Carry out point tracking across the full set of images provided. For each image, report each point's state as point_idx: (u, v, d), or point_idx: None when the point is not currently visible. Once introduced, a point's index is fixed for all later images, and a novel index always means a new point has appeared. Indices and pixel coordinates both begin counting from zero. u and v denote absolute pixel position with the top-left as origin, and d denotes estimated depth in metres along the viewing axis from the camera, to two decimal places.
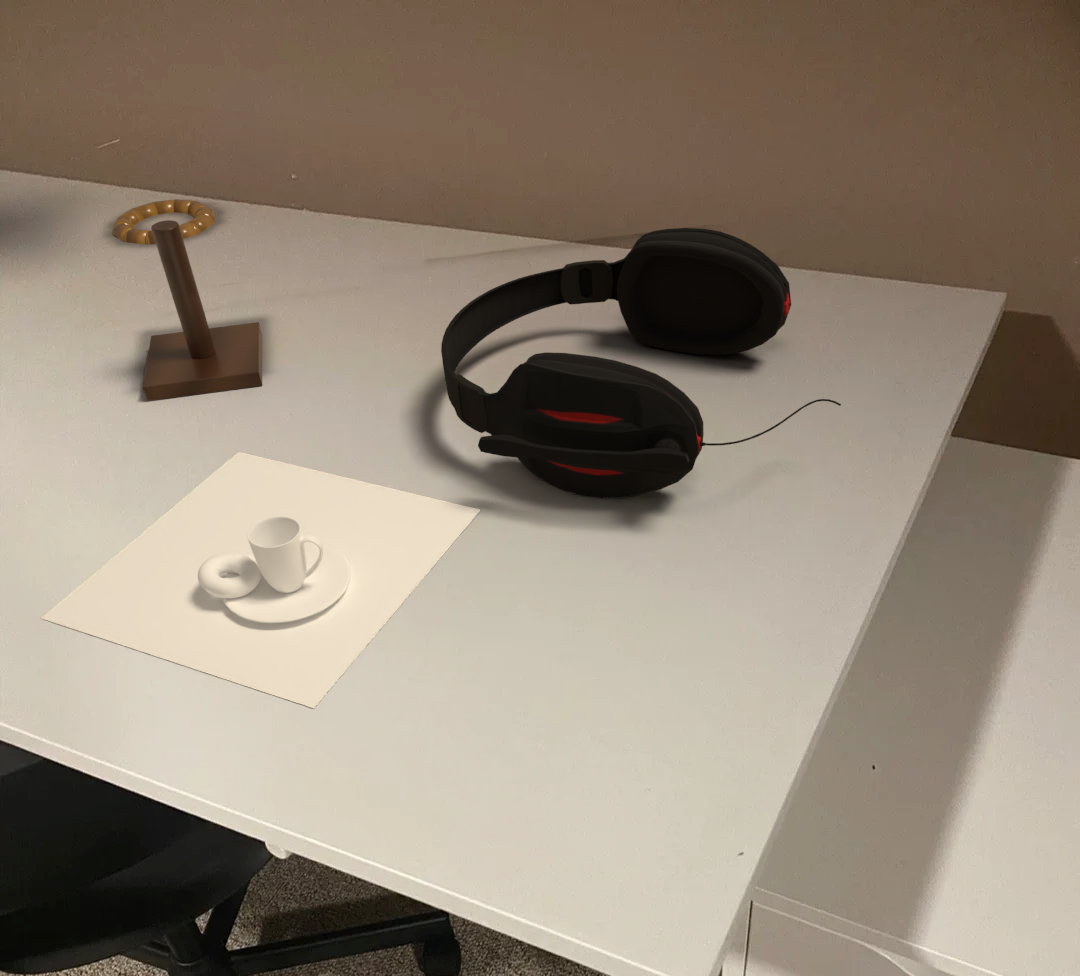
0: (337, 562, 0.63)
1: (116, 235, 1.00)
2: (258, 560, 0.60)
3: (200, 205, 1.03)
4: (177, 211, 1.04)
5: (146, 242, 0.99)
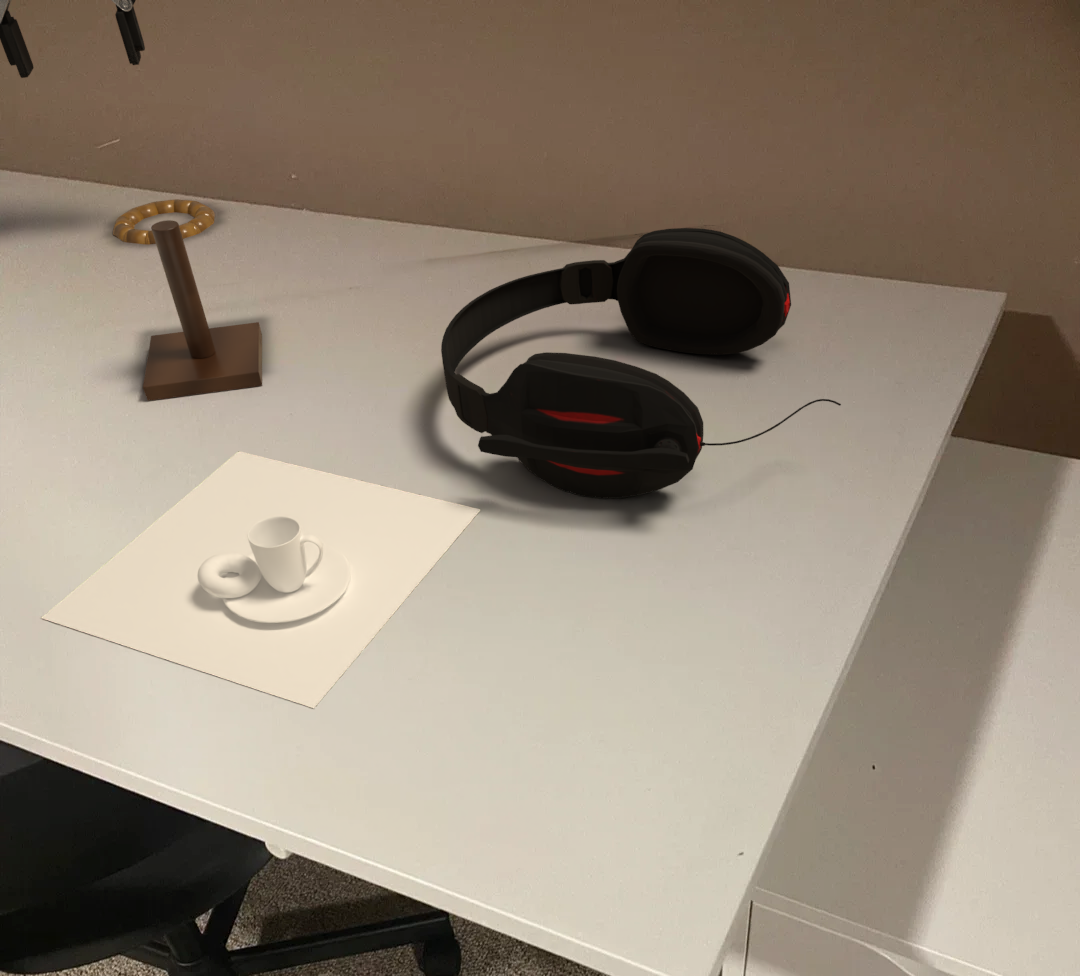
0: (337, 562, 0.63)
1: (116, 235, 1.00)
2: (258, 560, 0.60)
3: (200, 205, 1.03)
4: (177, 211, 1.04)
5: (146, 242, 0.99)
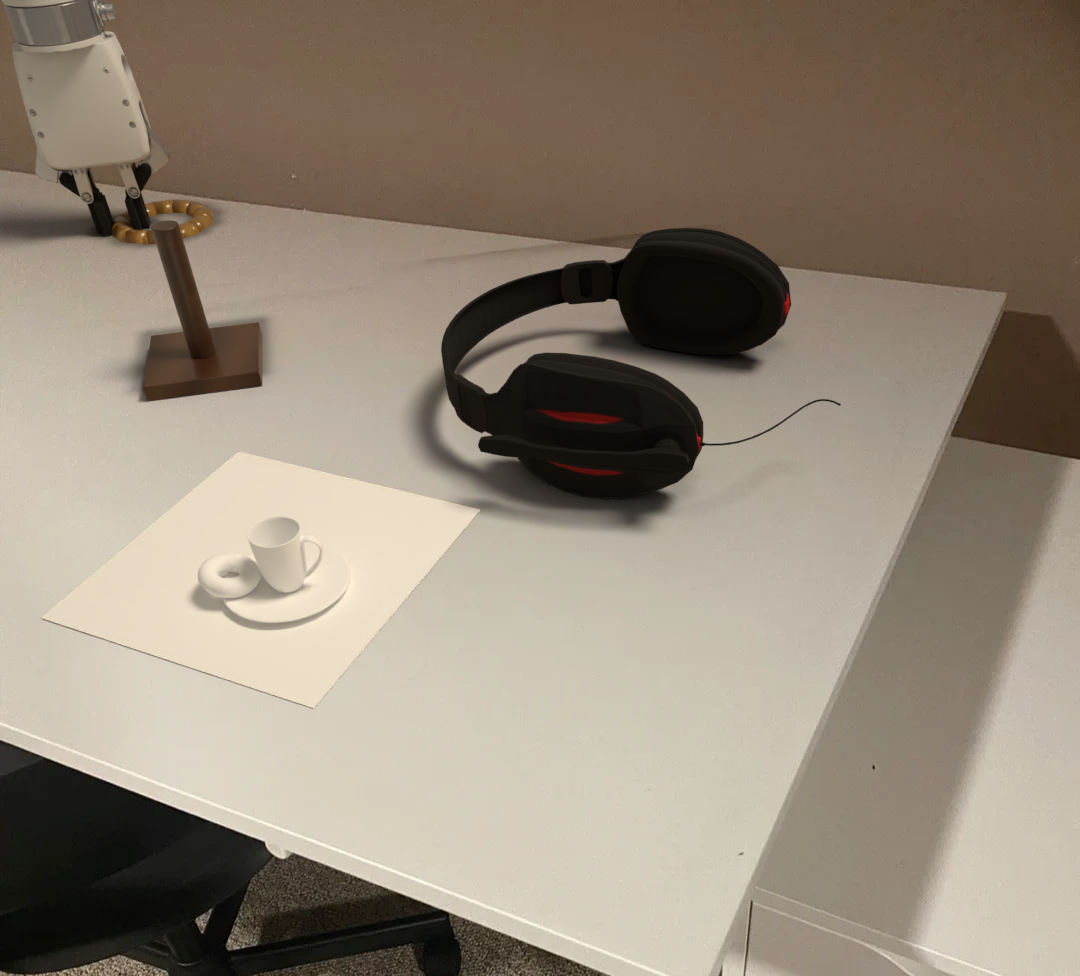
0: (337, 562, 0.63)
1: (114, 235, 1.00)
2: (258, 560, 0.60)
3: (198, 205, 1.03)
4: (176, 211, 1.04)
5: (144, 242, 0.99)
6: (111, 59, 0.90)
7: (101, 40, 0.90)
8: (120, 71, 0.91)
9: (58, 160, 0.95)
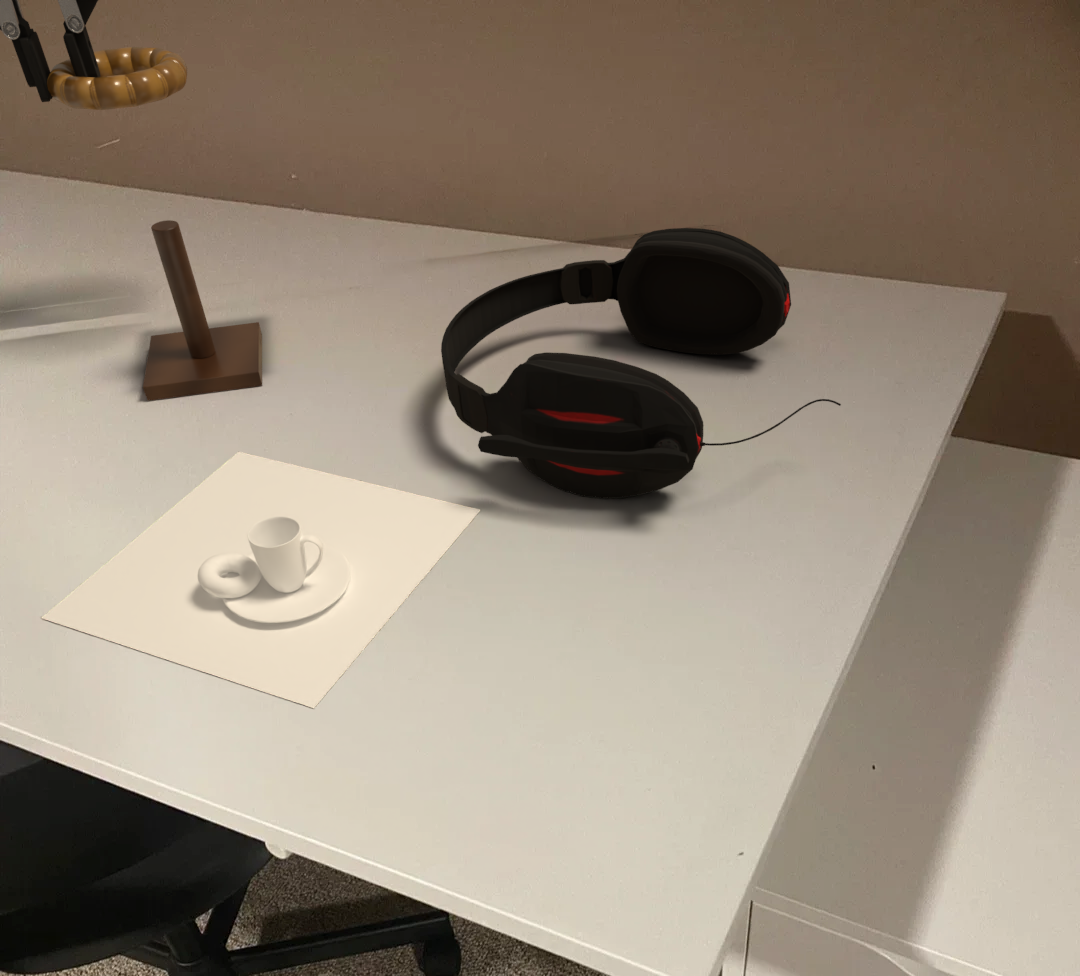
0: (337, 562, 0.63)
1: (51, 86, 0.74)
2: (258, 560, 0.60)
3: (166, 51, 0.76)
4: (135, 62, 0.78)
5: (91, 92, 0.72)
6: None
7: None
8: None
9: None
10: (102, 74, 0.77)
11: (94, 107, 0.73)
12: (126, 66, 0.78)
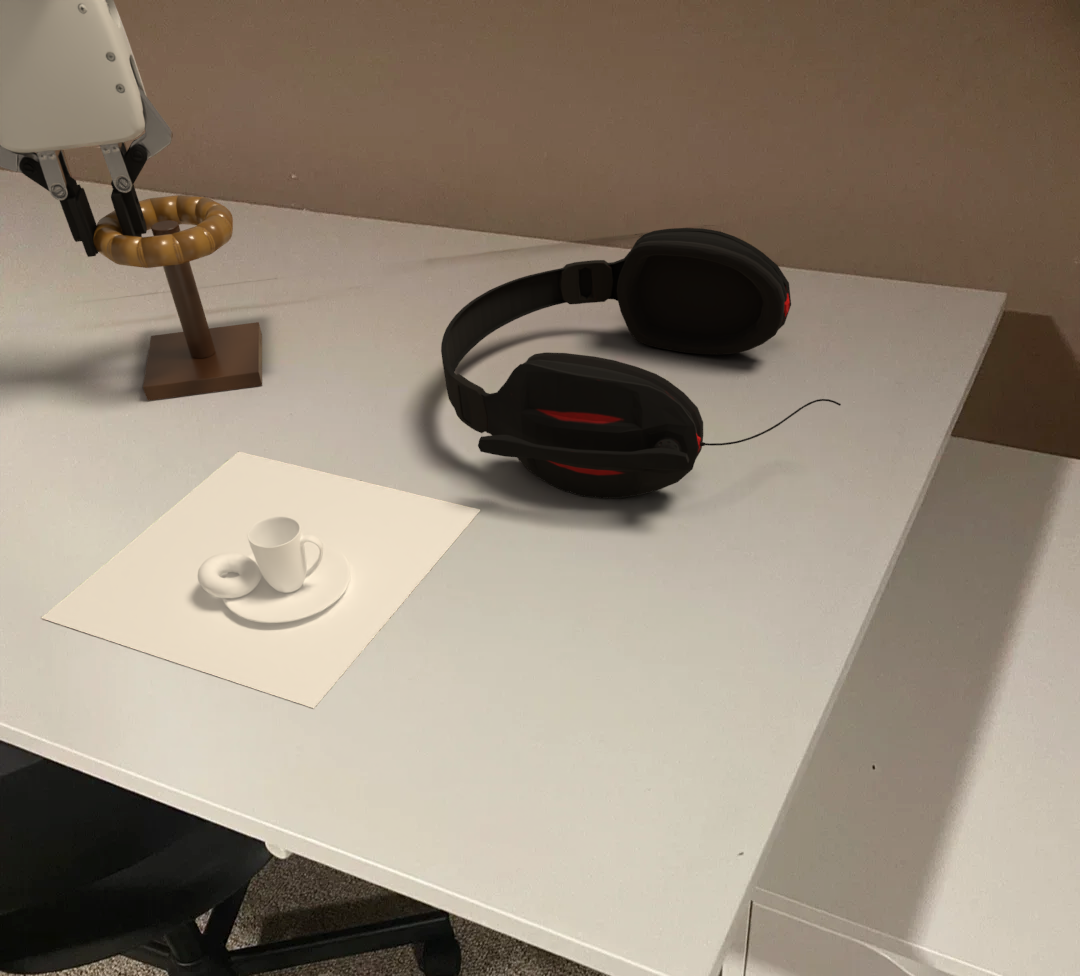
0: (337, 562, 0.63)
1: (97, 243, 0.73)
2: (258, 560, 0.60)
3: (212, 203, 0.76)
4: (181, 211, 0.77)
5: (138, 253, 0.71)
6: None
7: None
8: (102, 11, 0.64)
9: (17, 139, 0.68)
10: (147, 223, 0.77)
11: (141, 266, 0.72)
12: (171, 215, 0.77)
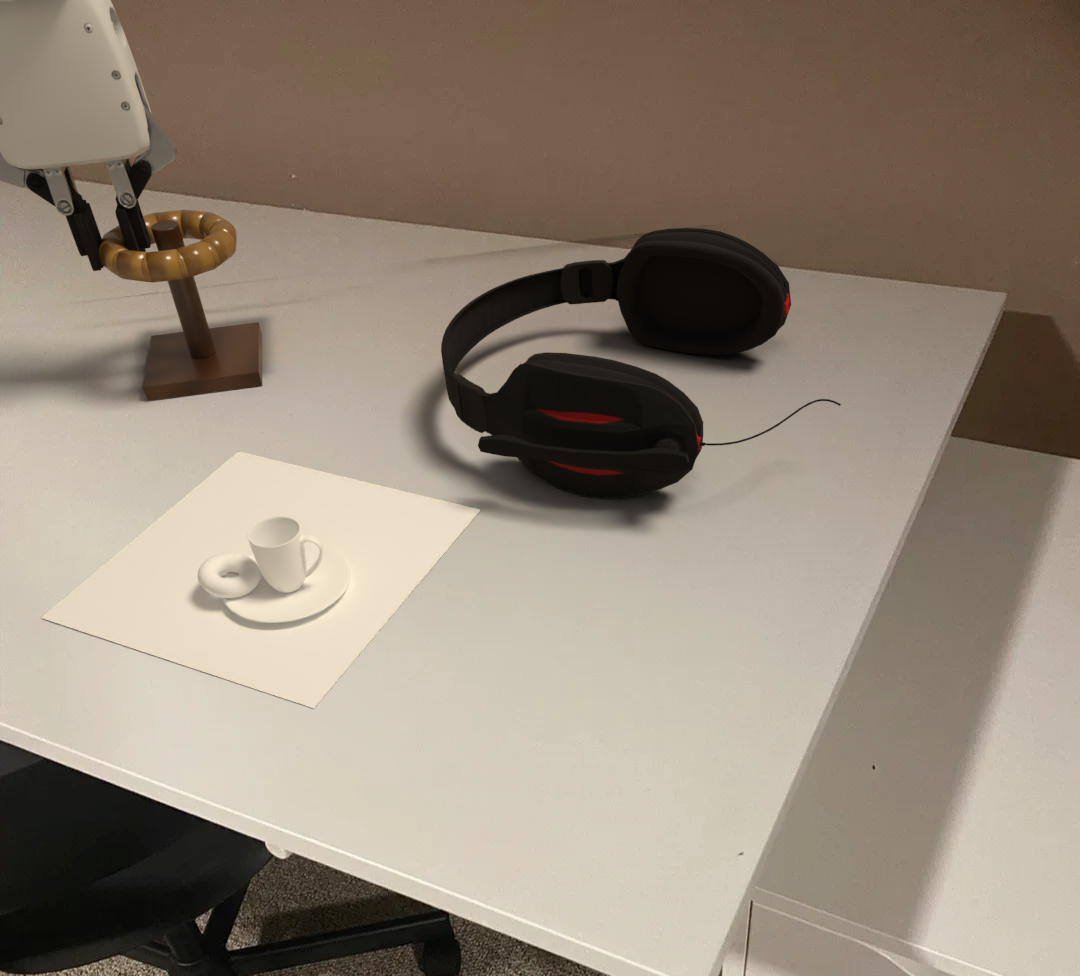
0: (337, 562, 0.63)
1: (102, 257, 0.74)
2: (258, 560, 0.60)
3: (216, 218, 0.77)
4: (185, 226, 0.78)
5: (143, 268, 0.72)
6: (95, 12, 0.64)
7: None
8: (108, 30, 0.65)
9: (23, 156, 0.68)
10: (152, 237, 0.78)
11: (145, 280, 0.73)
12: None
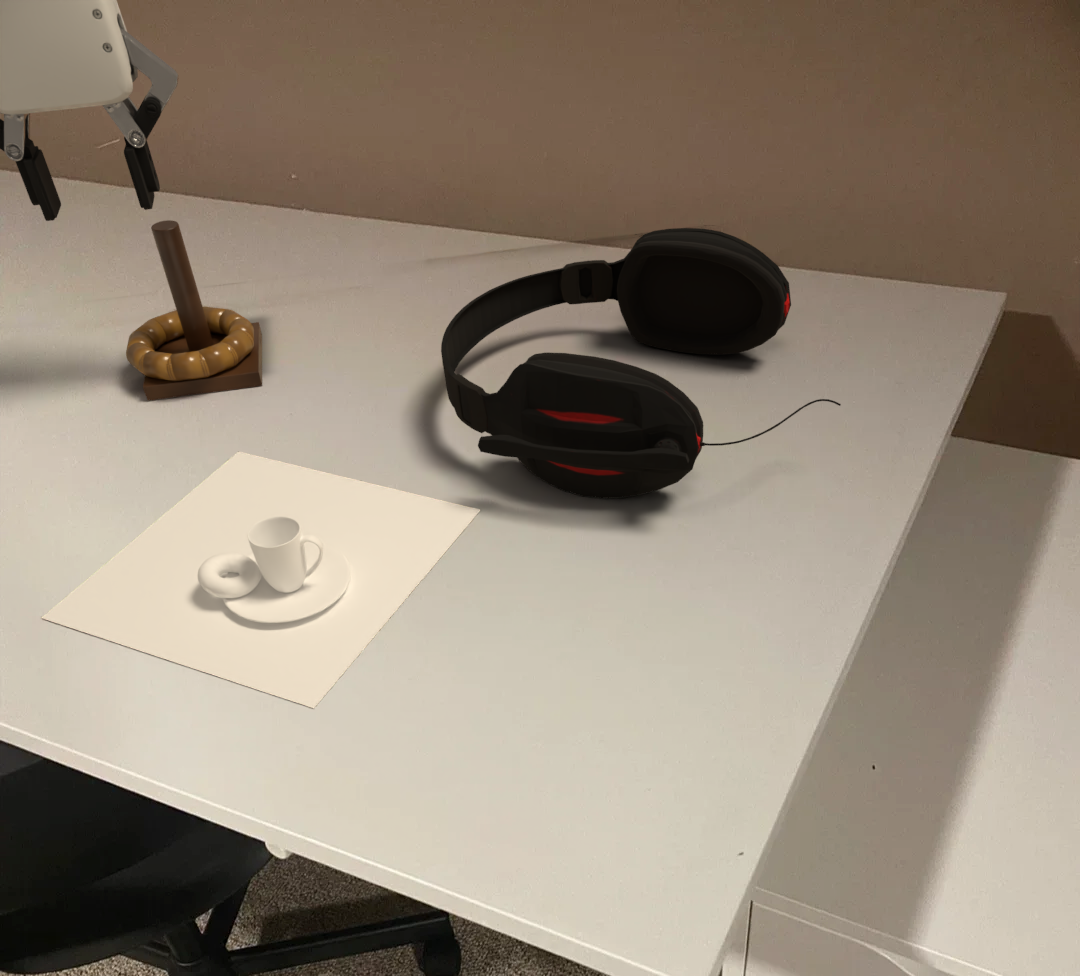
0: (337, 562, 0.63)
1: (130, 358, 0.79)
2: (258, 560, 0.60)
3: (235, 316, 0.82)
4: None
5: (168, 369, 0.78)
6: None
7: None
8: None
9: (1, 100, 0.66)
10: (175, 333, 0.83)
11: (170, 380, 0.79)
12: None
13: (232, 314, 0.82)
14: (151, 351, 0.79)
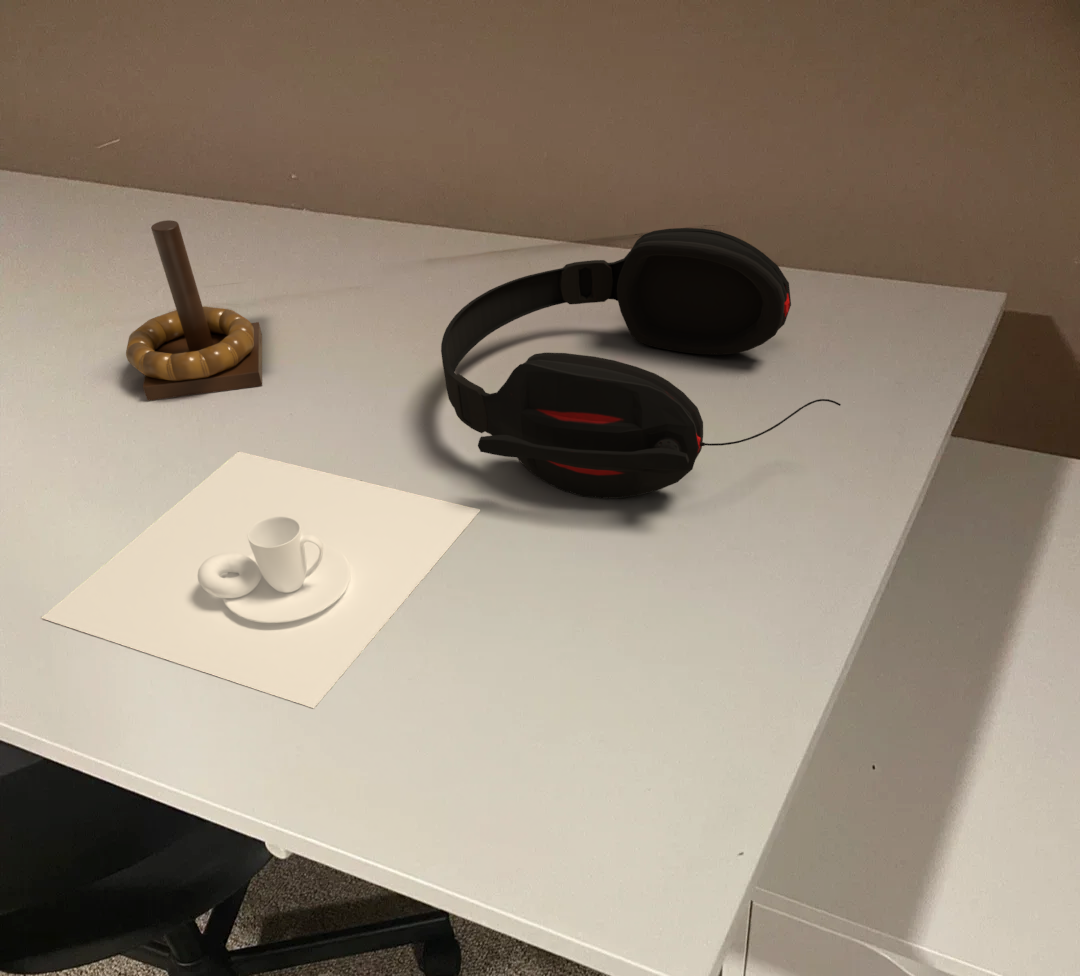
0: (337, 562, 0.63)
1: (130, 358, 0.79)
2: (258, 560, 0.60)
3: (235, 316, 0.82)
4: None
5: (168, 369, 0.78)
6: None
7: None
8: None
9: None
10: (175, 333, 0.83)
11: (170, 380, 0.79)
12: None
13: (232, 314, 0.82)
14: (151, 351, 0.79)
